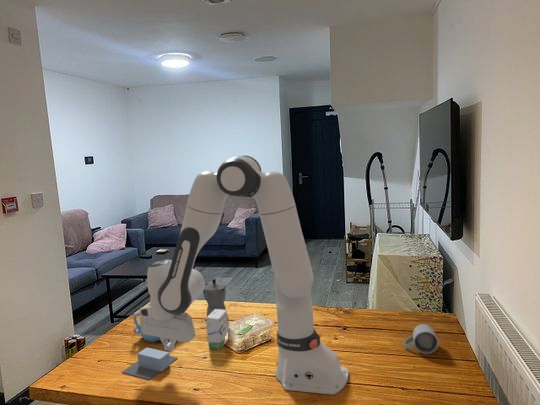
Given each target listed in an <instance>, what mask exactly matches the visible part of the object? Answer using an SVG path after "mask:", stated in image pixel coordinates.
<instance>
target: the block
mask: <svg viewBox="0 0 540 405" xmlns="http://www.w3.org/2000/svg"><path fill="white" fill-rule="evenodd" d="M170 356H171V355H170V352H169V351H165V350H164V351H163V350H160V349H155V348H150V347H145V348H144V349H143V350H141V351H139V352H138V353H137V361H138V364H139V366H140V367H144V368H148V369H152V370H156V371H160V372H159V373H162V372H164V370H166V369H168V368H169V367H170V366H171V364H172V363H171V364H170Z"/></svg>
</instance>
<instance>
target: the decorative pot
mask: <svg viewBox="0 0 540 405" xmlns="http://www.w3.org/2000/svg"><path fill="white" fill-rule="evenodd" d="M137 316H140V314H139V311H137V312H135V313H134V315H133V323H134V325H135V327H134V328H133V333H134V334H136V335H139V334H140V336H141V337H142V338H143V339H144V340H145V341H148V342H149V343H155V342H157V341H161V339H160V337H156V336H151V335H146V334H143V332H142V331H141V327H140V323H139V322H138V320H137Z"/></svg>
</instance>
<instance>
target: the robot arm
mask: <svg viewBox="0 0 540 405" xmlns="http://www.w3.org/2000/svg"><path fill="white" fill-rule="evenodd" d="M228 196H230V197H231V196H232V197H240V198H241V197H243V198H253V199H254V200H255V202H256V206H257V210H258V215H259V218H260V222H261V227H262V230H263V233H264V238H265V243H266V246H267V250H268V255H269V260H270V264H271V269H272V271H273V278H274V279H273V280H274V290H275V291H274V292H275V294H274V295H275V304H276V319H277V321H276V322H277V331H276V343H277V347H278V356H277V357H278V359H277V367H276V371H275V376H276V379H277V380H278V381H279V382H280V383H281V386H282V388H283V390H286V391H292V392H293V391H294V392H303V393H313V394H323V395H336V394H338V393H339V392H340V391H342V390H343V389H344V387H345V386H346V384H347V383H348V380H349V371H348V368H347V367H345V366H342V365H341V360H340V358H339V356H338V354H337V353H336V352H335V351H333V350H332V349H330V348H329V347H328V346H327V345H326V344H324V343H323V342H322V341H321V337H322V331H320V332H319V333H317V331H316V330H315V327H314V326H315V325H314V307H313V301H312V292H311V289H312V287H313V283H314V273H313V272H314V271H313V268H312V264H311V261H310V257H309V252H308V248H307V245H306V241H305V238H304V234H303V231H302V227H301V223H300V218H299V215H298V210H297V205H296V202H295V198H294V195H293V192H292V188H291V186H290V185H289V182H288V180H287V178H286V176H285V175H284V173H281V172H278V171H269V172H263V171H262V167H261V165H260V163H259V162H258V160H256V159H255V158H254V157H252V156H250V155H236V156H235V155H234V156H232V157H230V158H228V159H226V160H225V161H224V162H222V163H221V164H220V165H219V167H218V169H217V172H215V171H202V172H200V173H199V174H197V175H196V177H195V178H194V180H193V182H192V185H191V187H190V191H189V194H188V198H187V202H186V207H185V211H184V216H183V219H182V220H183V221H182V224H181V229H180V232H179V235H178V239H177V243H176V246H175V247H174V248H175V249H174V252H173V255H172V259H168V258H167V259H166V258H165V259H160V260H158V261H155V262H154V263H151V264H150V265H149V266H148V268H147V272H146V274H147V278H146V280H147V290H148V293H149V295H150V299H149V303H148V304H146V305H144V306H143V307H140V309H138V312H139V316H140V317H139V326H140V327H141V331H142V332H143V334H146V335H151V336H156V337H160V339H161V340H160V342H161V343H162V345H163V347H164V351H165V350H166V351H168V352H169V351H170V352H173V351H174V350H176V348H175V347H176V346H175V344H176V342H177V341H178V342H182V343H183V342H184V343H190V342H192V341H193V340H194V339H195V338H196V329H195V325H194V322H193V318H192V316H191V315H190V314H189V313H188V312H186V311H187V310H188V309H189V308H190V306H191V305H192V304H193V303H194V302H195V301H196V300H197V299H198V298H199V297H200V296H201V294H202V293H204V292H203V291H204V289H205V285H206V283H205V282H206V279H205V276H204V274H203V273H202V272H201V271H199V270H197V269H195V268H194V265H195V261H196V258H197V256H198V254H199V253H200V251H201V249H202V248H203V246H205V244H206V243H207V242H208V241H209V240H210V239H211V238H212V237H213V236H214V235H215V233H216V232H217V231H218V228H219V226H220V223H221V220H222V217H223V213H224V208H225V203H226V202H227V198H228Z"/></svg>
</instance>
